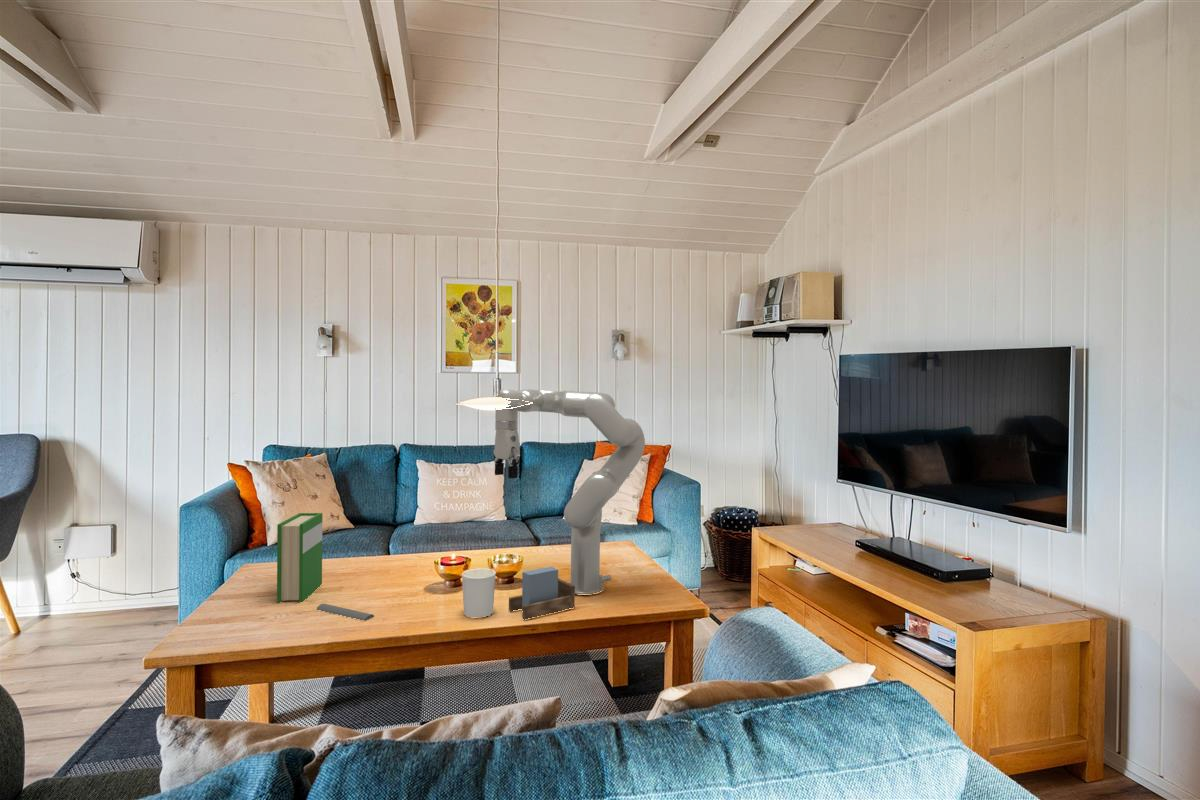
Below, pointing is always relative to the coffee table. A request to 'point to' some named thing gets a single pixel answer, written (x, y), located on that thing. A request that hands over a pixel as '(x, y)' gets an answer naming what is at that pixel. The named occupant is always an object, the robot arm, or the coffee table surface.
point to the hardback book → (299, 556)
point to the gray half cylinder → (344, 612)
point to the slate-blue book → (539, 585)
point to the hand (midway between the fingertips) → (505, 476)
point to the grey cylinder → (478, 592)
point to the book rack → (546, 602)
